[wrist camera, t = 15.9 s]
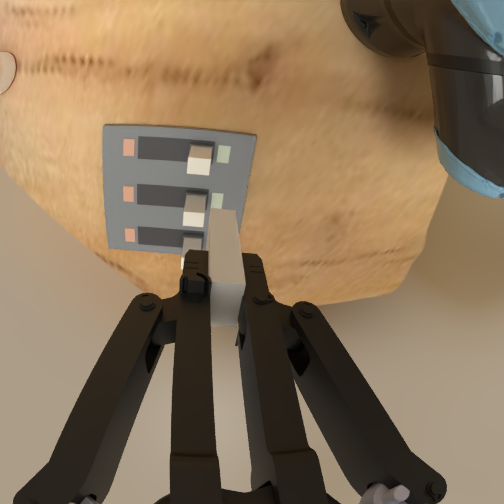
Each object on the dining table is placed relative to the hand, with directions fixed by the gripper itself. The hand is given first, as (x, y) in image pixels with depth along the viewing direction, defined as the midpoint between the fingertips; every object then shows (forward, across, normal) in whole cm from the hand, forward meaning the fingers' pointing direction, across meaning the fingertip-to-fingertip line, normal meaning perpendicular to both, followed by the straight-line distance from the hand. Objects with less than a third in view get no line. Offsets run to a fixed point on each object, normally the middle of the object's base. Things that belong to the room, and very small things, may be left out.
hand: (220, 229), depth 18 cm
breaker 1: (+23, -2, -2) cm, 23 cm away
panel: (+24, -6, -9) cm, 27 cm away
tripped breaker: (+23, -2, -16) cm, 28 cm away
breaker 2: (+23, -2, -9) cm, 25 cm away
